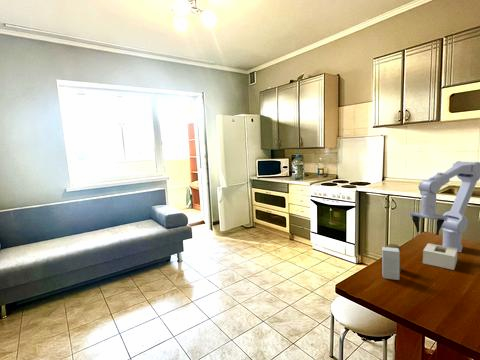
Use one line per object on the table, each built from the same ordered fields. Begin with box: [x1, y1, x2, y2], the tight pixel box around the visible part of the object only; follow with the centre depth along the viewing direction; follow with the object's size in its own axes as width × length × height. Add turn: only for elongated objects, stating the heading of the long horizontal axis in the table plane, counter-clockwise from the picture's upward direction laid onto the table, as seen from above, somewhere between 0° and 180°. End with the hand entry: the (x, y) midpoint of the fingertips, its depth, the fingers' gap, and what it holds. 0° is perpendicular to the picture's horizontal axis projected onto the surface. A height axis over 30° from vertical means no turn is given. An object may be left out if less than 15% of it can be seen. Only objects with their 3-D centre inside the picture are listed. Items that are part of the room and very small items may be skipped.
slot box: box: [422, 242, 458, 271], centre depth 119 cm, size 11×11×6 cm
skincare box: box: [381, 246, 401, 281], centre depth 109 cm, size 6×4×12 cm
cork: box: [386, 243, 402, 272], centre depth 115 cm, size 6×6×11 cm
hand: (427, 233), depth 127 cm, fingers open, 7 cm apart
